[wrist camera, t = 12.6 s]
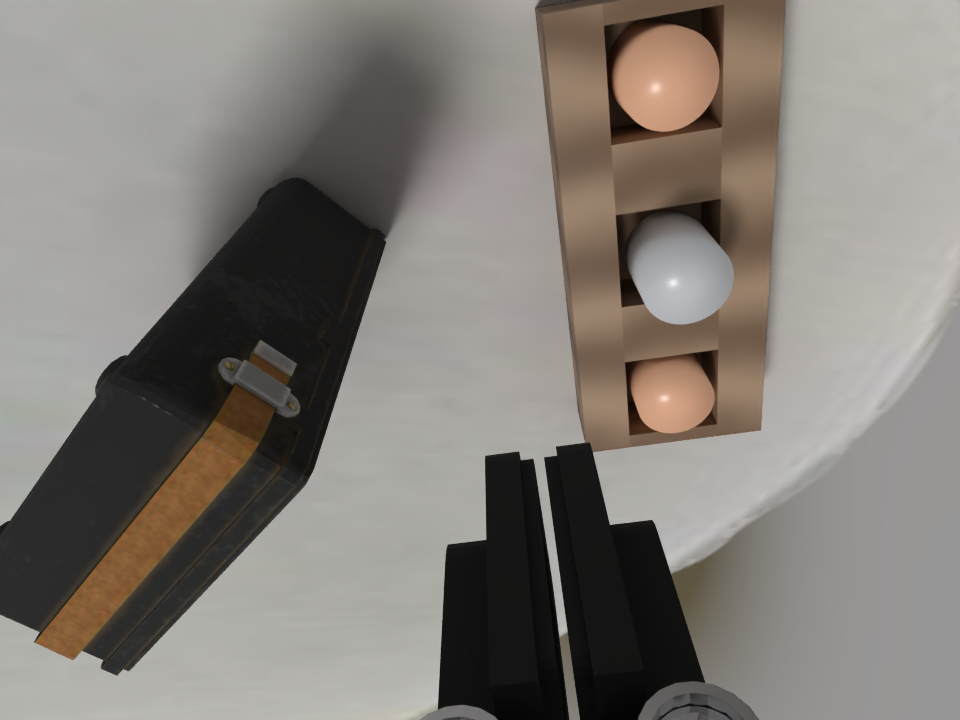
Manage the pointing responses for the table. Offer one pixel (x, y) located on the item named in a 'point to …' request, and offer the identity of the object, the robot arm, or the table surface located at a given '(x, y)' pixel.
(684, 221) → the button middle
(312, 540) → the table surface
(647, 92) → the button
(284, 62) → the table surface
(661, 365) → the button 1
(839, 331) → the table surface
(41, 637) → the voltmeter
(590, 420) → the wooden candle holder
